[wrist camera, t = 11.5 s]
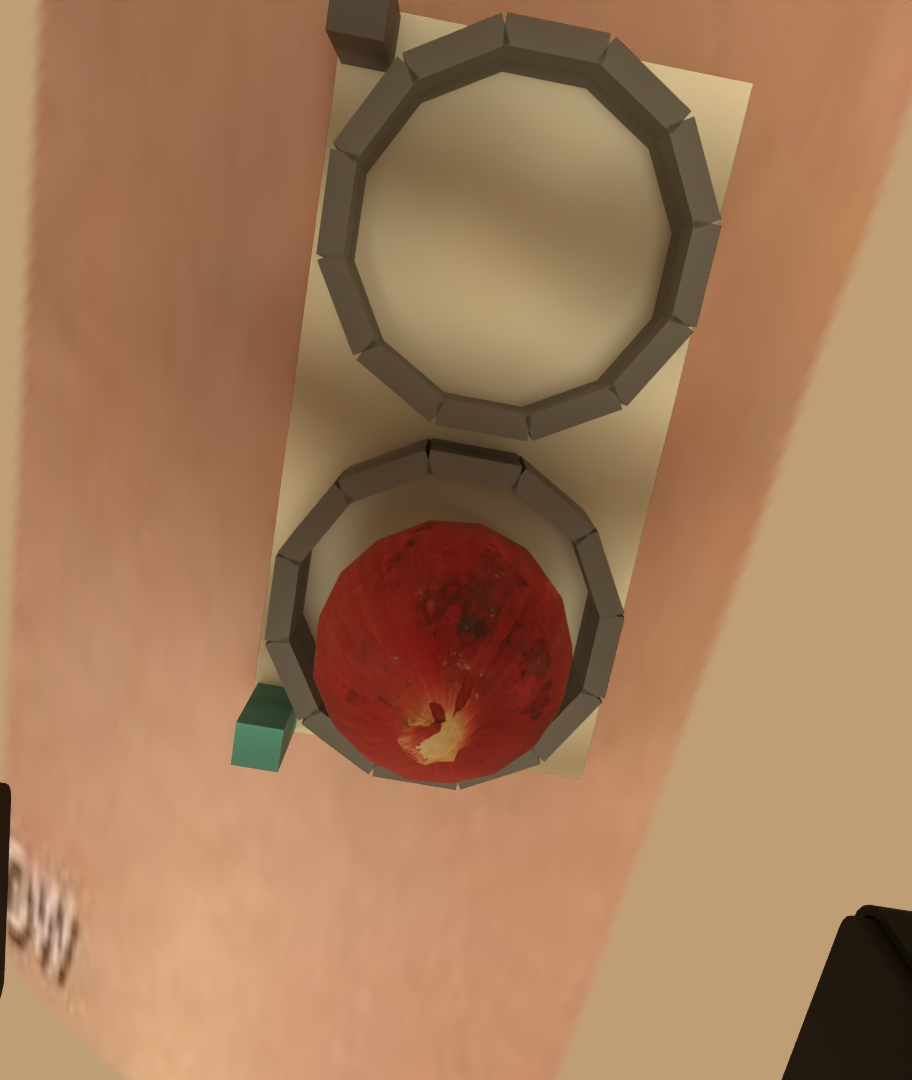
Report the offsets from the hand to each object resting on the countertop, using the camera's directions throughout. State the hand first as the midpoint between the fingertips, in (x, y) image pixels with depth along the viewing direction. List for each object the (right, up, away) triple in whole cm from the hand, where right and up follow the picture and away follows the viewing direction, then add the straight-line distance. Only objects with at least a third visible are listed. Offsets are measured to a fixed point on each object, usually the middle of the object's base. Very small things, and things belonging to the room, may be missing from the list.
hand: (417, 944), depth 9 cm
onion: (0, +3, +14) cm, 14 cm away
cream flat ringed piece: (+1, +8, +14) cm, 16 cm away
